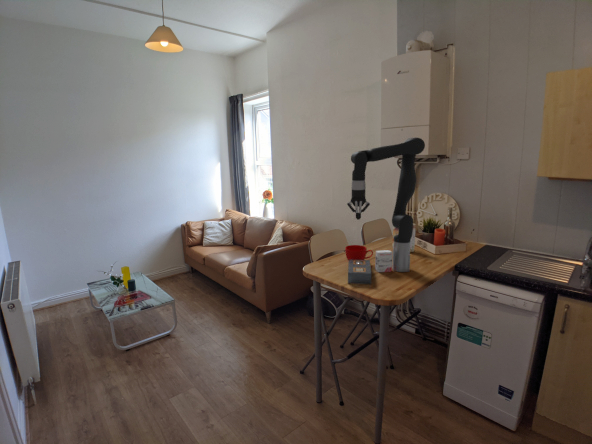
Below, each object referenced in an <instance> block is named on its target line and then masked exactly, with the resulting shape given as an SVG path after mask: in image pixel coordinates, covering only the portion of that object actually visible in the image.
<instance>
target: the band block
mask: <svg viewBox="0 0 592 444" xmlns="http://www.w3.org/2000/svg"><path fill="white" fill-rule="evenodd" d="M370 261H371V260H370V259H364V260H352V259H349V261H348V268H347V269H348V270H347V284H351V283H354V284H355V285H372V269H371V262H370ZM356 262H363V264H356ZM356 269H363V271H356Z"/></svg>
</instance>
